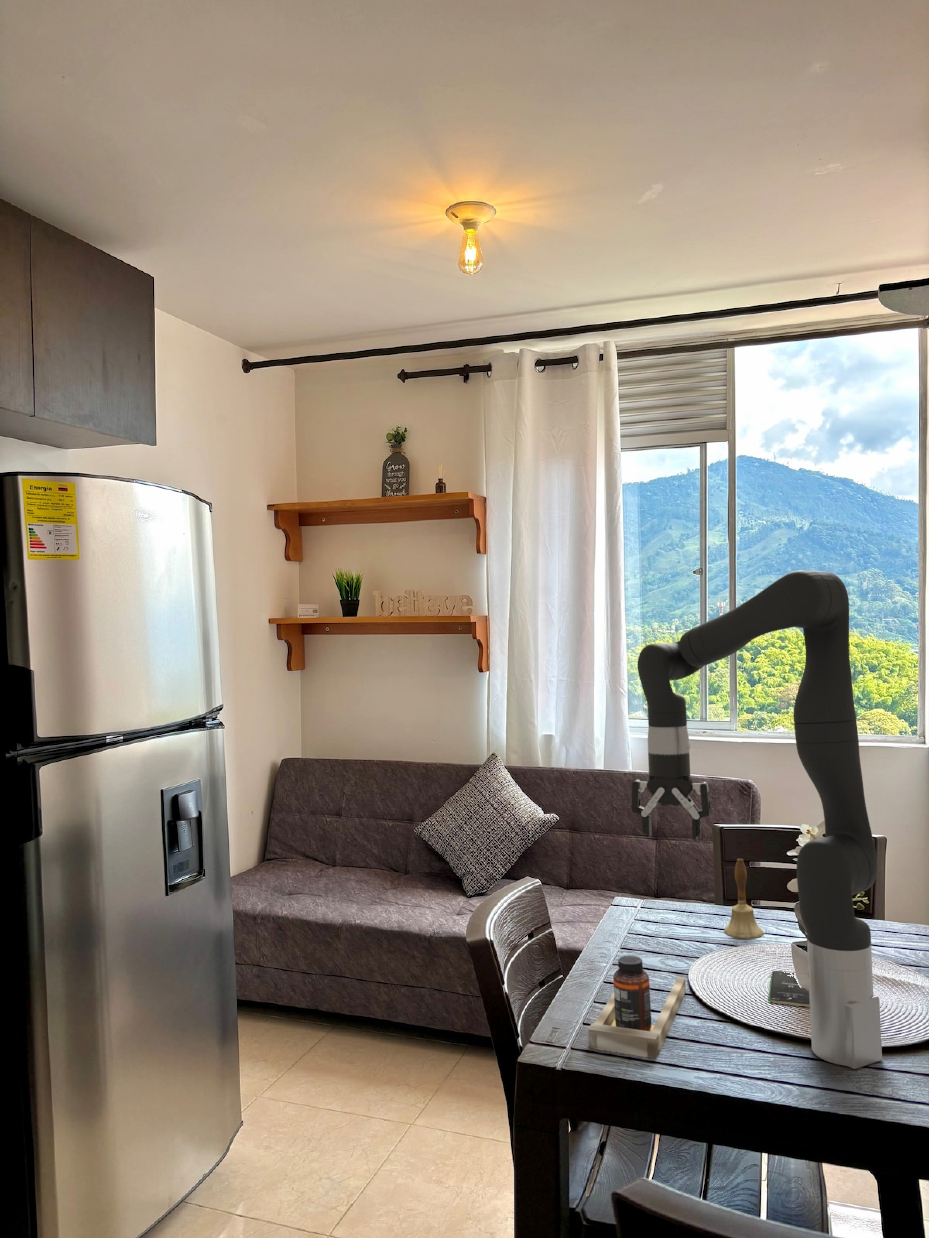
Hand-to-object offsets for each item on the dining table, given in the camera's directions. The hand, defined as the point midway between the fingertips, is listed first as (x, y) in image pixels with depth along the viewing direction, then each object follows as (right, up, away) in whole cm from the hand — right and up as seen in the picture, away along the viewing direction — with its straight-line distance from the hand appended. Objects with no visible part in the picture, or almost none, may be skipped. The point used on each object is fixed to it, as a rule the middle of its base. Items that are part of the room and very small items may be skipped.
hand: (672, 837), depth 162 cm
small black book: (+21, -28, -2) cm, 35 cm away
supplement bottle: (-10, -28, -17) cm, 34 cm away
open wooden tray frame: (-8, -28, -12) cm, 32 cm away
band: (-10, -28, -17) cm, 34 cm away
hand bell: (+23, -29, +30) cm, 47 cm away
